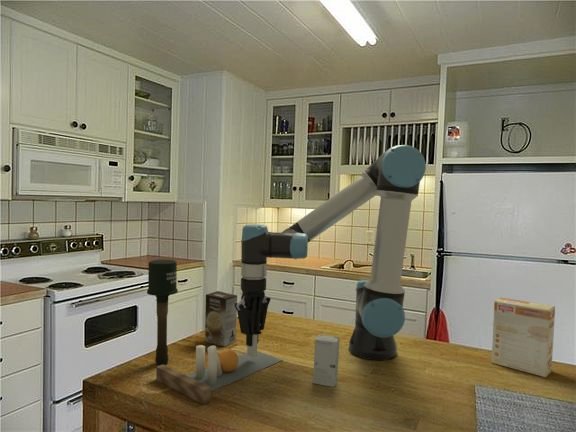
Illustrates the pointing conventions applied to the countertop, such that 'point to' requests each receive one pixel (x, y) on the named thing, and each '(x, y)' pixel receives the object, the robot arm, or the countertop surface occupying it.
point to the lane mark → (239, 369)
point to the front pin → (219, 370)
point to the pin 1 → (200, 362)
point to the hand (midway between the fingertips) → (252, 355)
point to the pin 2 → (212, 367)
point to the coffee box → (220, 318)
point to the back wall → (184, 384)
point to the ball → (228, 360)
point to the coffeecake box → (523, 336)
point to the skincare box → (326, 360)
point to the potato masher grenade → (162, 300)
